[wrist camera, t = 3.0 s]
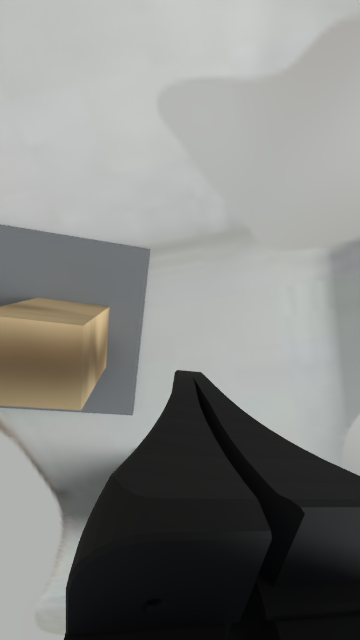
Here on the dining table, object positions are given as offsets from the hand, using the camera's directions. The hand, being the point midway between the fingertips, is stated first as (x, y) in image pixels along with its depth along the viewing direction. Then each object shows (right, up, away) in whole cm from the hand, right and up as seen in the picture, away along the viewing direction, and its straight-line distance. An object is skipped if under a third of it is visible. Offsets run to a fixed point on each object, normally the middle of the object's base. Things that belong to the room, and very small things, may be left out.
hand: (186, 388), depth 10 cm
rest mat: (-9, +3, +5) cm, 11 cm away
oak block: (-8, +2, +5) cm, 10 cm away
